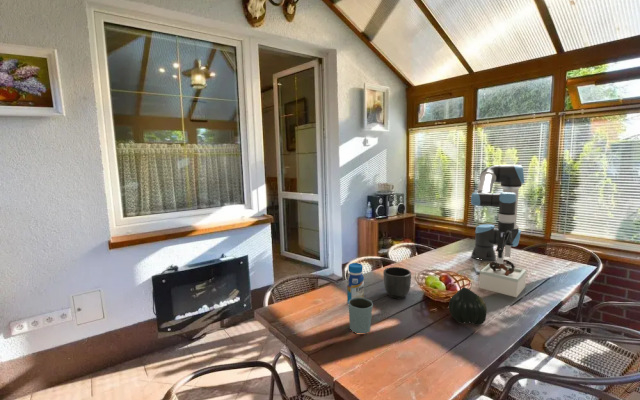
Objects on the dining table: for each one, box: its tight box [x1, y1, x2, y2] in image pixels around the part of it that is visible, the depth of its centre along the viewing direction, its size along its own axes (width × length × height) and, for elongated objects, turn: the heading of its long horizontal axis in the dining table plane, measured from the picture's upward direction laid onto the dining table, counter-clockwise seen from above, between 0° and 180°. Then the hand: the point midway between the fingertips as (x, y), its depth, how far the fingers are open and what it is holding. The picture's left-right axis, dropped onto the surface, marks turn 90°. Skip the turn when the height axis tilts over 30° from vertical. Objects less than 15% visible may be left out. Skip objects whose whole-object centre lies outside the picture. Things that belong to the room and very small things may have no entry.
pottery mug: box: [488, 258, 516, 276], centre depth 173 cm, size 12×10×8 cm
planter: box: [383, 266, 412, 299], centre depth 166 cm, size 14×14×13 cm
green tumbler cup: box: [347, 297, 374, 334], centre depth 134 cm, size 10×10×12 cm
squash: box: [448, 286, 488, 326], centre depth 140 cm, size 14×15×15 cm
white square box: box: [478, 262, 527, 298], centre depth 174 cm, size 18×18×10 cm
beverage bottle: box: [346, 262, 365, 304], centre depth 157 cm, size 8×8×20 cm
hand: (503, 260), depth 173 cm, fingers open, 13 cm apart
